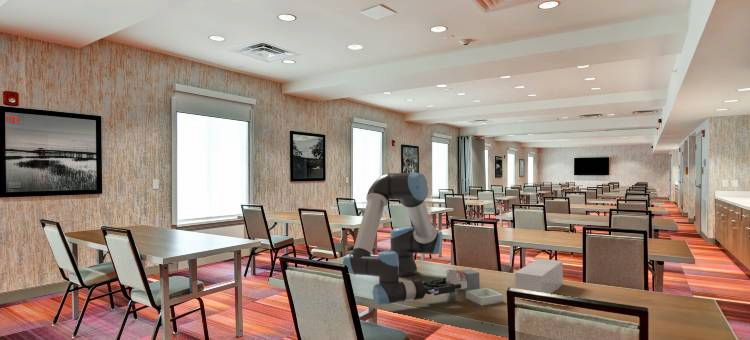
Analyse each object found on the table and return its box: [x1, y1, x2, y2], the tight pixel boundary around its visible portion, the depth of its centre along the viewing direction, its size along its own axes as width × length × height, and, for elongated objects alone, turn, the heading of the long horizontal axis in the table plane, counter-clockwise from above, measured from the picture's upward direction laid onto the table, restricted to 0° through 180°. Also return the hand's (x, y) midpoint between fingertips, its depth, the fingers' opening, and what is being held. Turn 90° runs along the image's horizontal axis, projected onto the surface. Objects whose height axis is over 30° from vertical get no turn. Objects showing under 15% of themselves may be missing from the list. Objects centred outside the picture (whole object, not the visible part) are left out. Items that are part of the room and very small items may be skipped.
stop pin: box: [446, 269, 458, 303], centre depth 175 cm, size 4×4×12 cm
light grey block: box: [514, 257, 564, 294], centre depth 187 cm, size 32×11×11 cm, turn 143°
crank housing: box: [456, 268, 481, 293], centre depth 190 cm, size 7×8×9 cm
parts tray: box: [465, 287, 504, 307], centre depth 175 cm, size 10×10×3 cm
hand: (463, 283), depth 177 cm, fingers closed on stop pin, 4 cm apart
